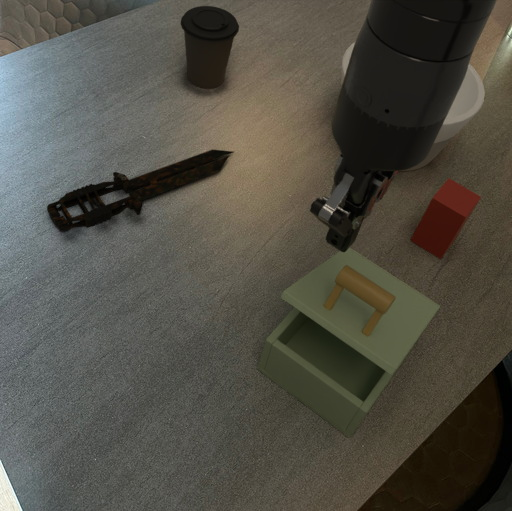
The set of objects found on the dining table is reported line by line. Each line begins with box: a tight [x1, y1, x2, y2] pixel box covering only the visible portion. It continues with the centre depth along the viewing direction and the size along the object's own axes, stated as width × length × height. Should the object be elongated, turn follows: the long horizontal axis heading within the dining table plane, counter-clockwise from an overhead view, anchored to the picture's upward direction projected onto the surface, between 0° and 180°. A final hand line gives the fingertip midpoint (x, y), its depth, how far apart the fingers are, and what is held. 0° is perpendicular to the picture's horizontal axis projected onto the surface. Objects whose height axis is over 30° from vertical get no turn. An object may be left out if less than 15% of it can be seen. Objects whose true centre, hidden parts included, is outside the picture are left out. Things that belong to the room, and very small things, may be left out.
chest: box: [257, 307, 431, 439], centre depth 65 cm, size 15×12×6 cm
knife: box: [46, 148, 234, 232], centre depth 78 cm, size 25×6×1 cm, turn 118°
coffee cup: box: [180, 5, 240, 90], centre depth 89 cm, size 8×8×10 cm
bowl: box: [340, 41, 486, 172], centre depth 86 cm, size 19×19×11 cm
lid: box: [280, 246, 441, 376], centre depth 59 cm, size 15×12×5 cm
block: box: [410, 177, 482, 260], centre depth 76 cm, size 4×4×8 cm
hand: (339, 242), depth 57 cm, fingers closed
